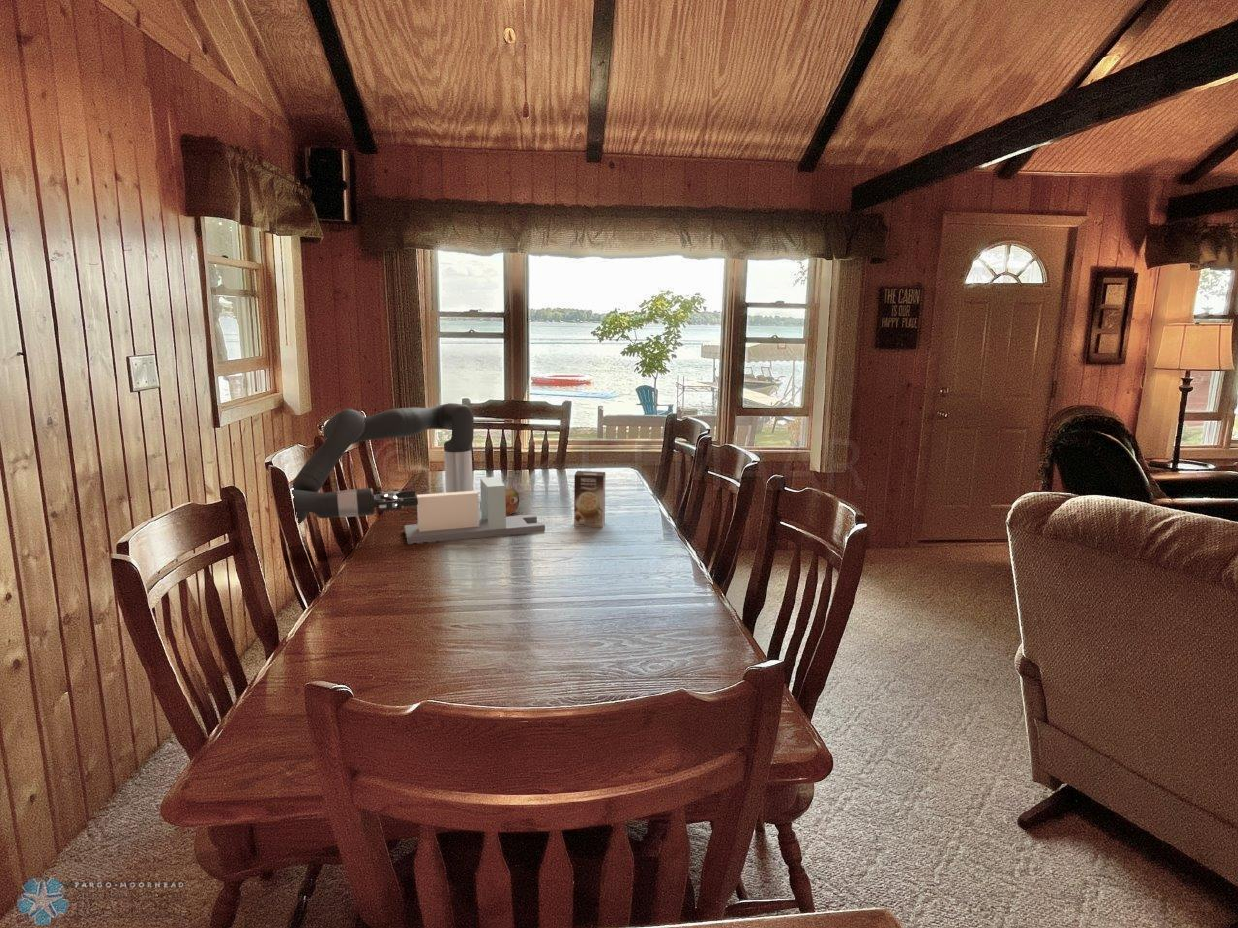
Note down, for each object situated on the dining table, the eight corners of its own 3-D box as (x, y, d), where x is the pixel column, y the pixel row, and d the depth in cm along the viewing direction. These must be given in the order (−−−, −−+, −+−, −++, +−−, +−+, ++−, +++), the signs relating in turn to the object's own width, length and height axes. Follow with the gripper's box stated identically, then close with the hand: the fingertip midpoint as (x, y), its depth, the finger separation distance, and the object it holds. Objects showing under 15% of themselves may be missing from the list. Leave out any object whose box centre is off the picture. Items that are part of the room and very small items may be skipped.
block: (418, 528, 209) (416, 494, 207) (477, 523, 215) (476, 490, 213) (419, 531, 206) (417, 497, 204) (479, 526, 212) (478, 493, 210)
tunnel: (481, 518, 220) (480, 478, 217) (497, 517, 222) (496, 476, 219) (488, 529, 208) (487, 486, 206) (506, 528, 210) (505, 485, 208)
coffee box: (573, 526, 220) (572, 474, 217) (576, 521, 226) (576, 470, 223) (603, 527, 219) (603, 475, 216) (605, 521, 225) (605, 471, 222)
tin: (485, 521, 225) (484, 495, 223) (478, 519, 227) (478, 493, 225) (520, 511, 237) (519, 486, 235) (513, 510, 239) (512, 485, 237)
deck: (404, 531, 213) (404, 525, 212) (534, 520, 226) (534, 514, 226) (408, 544, 201) (407, 537, 200) (544, 531, 214) (544, 525, 214)
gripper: (355, 495, 193) (417, 490, 199) (354, 484, 206) (413, 479, 212) (357, 522, 195) (419, 516, 200) (356, 509, 208) (414, 504, 213)
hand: (416, 497), depth 206 cm, fingers open, 8 cm apart
